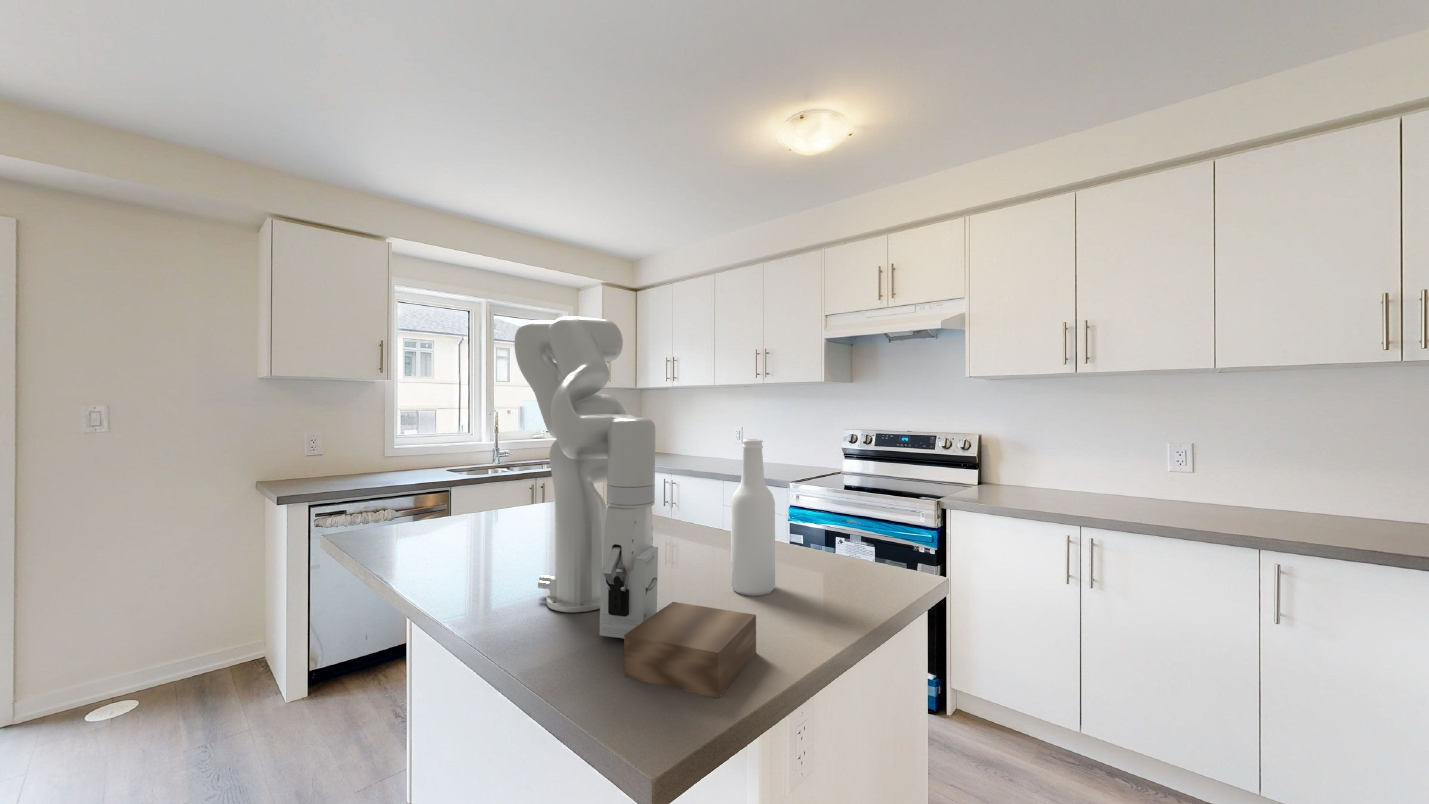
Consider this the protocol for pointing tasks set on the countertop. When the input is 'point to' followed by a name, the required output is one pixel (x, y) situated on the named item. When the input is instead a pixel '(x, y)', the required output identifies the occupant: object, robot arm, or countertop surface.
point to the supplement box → (632, 595)
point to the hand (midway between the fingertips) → (629, 604)
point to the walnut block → (691, 648)
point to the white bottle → (752, 527)
